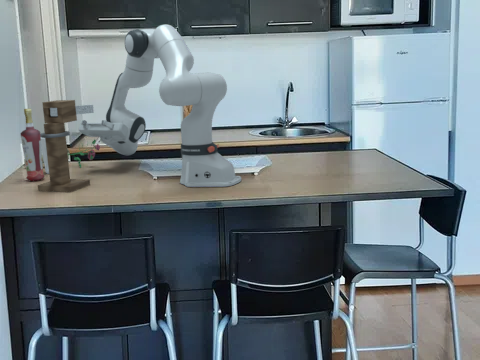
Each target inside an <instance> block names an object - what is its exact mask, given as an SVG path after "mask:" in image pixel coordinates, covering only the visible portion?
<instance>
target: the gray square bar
mask: <svg viewBox="0 0 480 360" xmlns="http://www.w3.org/2000/svg"><path fill="white" fill-rule="evenodd" d="M75 106H76V115H84V114H85V115H86V114H94V111H95V110H94V104H87V105H86V104H83V105H75ZM50 114H51V116H58V113H57V108H50Z"/></svg>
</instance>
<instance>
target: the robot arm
mask: <svg viewBox="0 0 480 360" xmlns="http://www.w3.org/2000/svg"><path fill="white" fill-rule="evenodd" d="M124 47H125V51H126V53H127V56H126V60H125V66H124V67H125V68H124V70H123V72H121V73H120V74H119V75H118V77H117V79H116V82H115V85H114V86H115V87H114V90H113V94H112V97H111V101H110V104H109V108H108V109H107V112H106V114H105V120H101V122H88V121H87V120H84V119H83V120H80V123H79V126H78V132H79V133H81V134H83V135H85V136H87V137H91V138H99V139H100V141H101V142H102V143H103V144H105V145H106V146H107V147H109V148H111V149H113V151H114V152H116V153H118V154H120V155H123V156H131V155H133V154H135V153H136V151H137V150H138V147H139V145H138V144H139V140H140V139H141V138H142V137H143V135H144V134H145V131H146V129H147V128H146V127H147V126H146V125H147V124H146V121H145V118H144V117H143V116H141V115H139V114H137V113H135V112H134V111H133V112H132V111H131V110H129V109H127V107H126V106H125V105H126V101H127V95H128V92H129V90H130V89H137V88H138V89H140V88H143V87H145V86H148V84H149V83H150V82H151V80H152V78H153V72H154V64H155V59H159V60H160V61H161V64H162V65H163V67H164V70H165V77H164V78H163V79H162V80H161V82H160V83H159V89H158V93H159V96H160V99H161V101H162V102H163V103H164V104H165V105H167V106H175V107H184V106H185V107H186V106H187V107H188V106H192V107H191V110H190V112H189V114H188V115H187V116H185V117H184V118H183V119H182V120H181V122H180V136H181V144H180V154H181V159H182V160H181V163H182V164H181V172H180V173H181V174H180V180H179V183H180V184H181V185H185V187H188V188H190V187H193V188H194V187H195V188H199V187H200V188H202V187H203V188H206V187H209V188H210V187H211V188H212V187H214V188H215V187H216V188H217V187H222V188H225V187H231V186H234V185H237V184H238V183H240V182H241V181H242V176H240V175H236V172H235V168H234V165H233V163H232V162H231V161H230V160H228V159H227V158H225V157H224V156H222V155H221V154H220V153H219V152H218V148H219V147H220V146H219V145H220V144H219V143H218V144H215V142H213V119H214V118H213V117H214V115H215V114H214V113H215V112H216V109H217V107H218V105H219V104H220V103H221V102H222V100H223V99H224V98H225V97H226V94H227V92H228V85H227V81H226V80H225V78H224V76H222V74H219V73H214V72H198V73H197V72H196V73H191V72H190V71H191V70H192V69H193V66H194V64H195V62H194V61H195V57H194V56H193V54H192V52H191V50H190V49H189V47H188V45H187V43H186V41H185V40H184V39H183V37H182V35H181V34H180V33H179V32H178V31H177V29H176V28H175V27H174V26H172V25H170V24H160V25H158V26H157V27H156V28H143V29H138V28H136V29H133V30H132V29H131V30H129V31H128V32H127V34H126V35H125V37H124Z"/></svg>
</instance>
